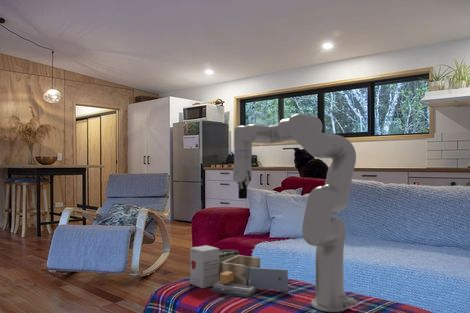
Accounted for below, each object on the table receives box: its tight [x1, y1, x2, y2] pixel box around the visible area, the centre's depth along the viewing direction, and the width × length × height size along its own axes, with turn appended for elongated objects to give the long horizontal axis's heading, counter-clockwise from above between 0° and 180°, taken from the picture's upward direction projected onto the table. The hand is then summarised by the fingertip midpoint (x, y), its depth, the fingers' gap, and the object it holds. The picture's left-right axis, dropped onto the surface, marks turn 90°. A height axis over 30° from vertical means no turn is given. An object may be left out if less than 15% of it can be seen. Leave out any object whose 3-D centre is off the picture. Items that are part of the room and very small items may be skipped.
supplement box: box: [189, 244, 220, 289], centre depth 162 cm, size 9×9×15 cm
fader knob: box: [219, 271, 233, 285], centre depth 154 cm, size 3×5×5 cm, turn 153°
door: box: [246, 266, 289, 292], centre depth 154 cm, size 2×17×8 cm, turn 76°
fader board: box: [210, 280, 258, 299], centre depth 152 cm, size 16×8×2 cm, turn 63°
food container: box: [219, 249, 240, 277], centre depth 179 cm, size 12×6×10 cm, turn 130°
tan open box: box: [220, 254, 261, 286], centre depth 166 cm, size 11×16×9 cm
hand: (242, 198), depth 166 cm, fingers closed
